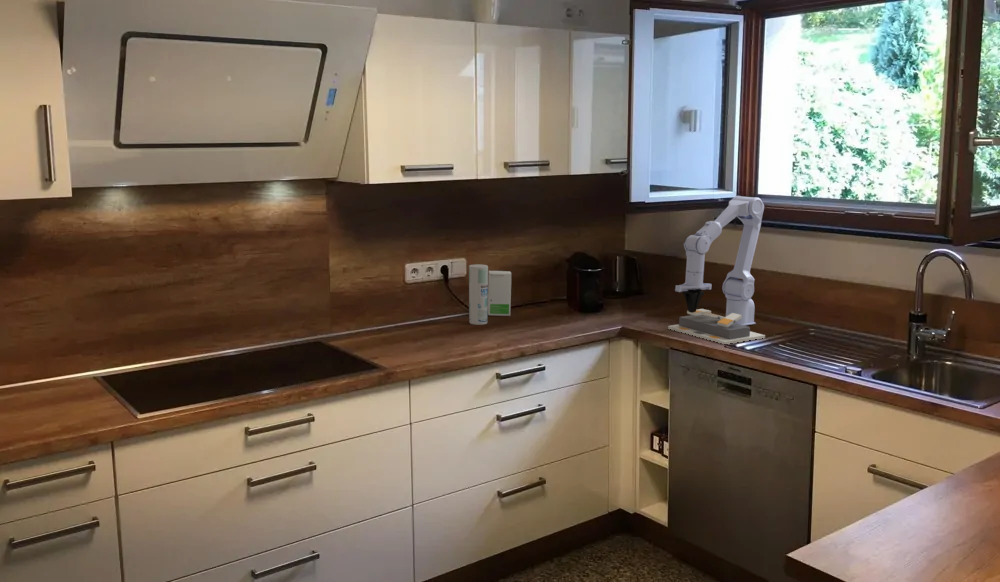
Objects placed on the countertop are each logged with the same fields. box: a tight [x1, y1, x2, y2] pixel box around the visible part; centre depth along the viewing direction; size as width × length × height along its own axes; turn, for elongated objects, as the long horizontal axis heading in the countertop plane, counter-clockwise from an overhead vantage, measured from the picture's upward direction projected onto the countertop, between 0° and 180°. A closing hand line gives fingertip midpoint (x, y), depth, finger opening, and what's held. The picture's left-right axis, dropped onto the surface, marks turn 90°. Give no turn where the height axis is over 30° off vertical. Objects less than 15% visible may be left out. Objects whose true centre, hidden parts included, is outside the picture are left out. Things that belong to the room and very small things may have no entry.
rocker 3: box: [717, 313, 742, 327], centre depth 278 cm, size 7×4×1 cm, turn 120°
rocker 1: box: [686, 308, 712, 316], centre depth 290 cm, size 7×4×1 cm, turn 121°
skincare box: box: [487, 270, 512, 317], centre depth 313 cm, size 8×7×16 cm
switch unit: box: [667, 314, 766, 345], centre depth 286 cm, size 18×26×4 cm
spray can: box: [468, 263, 489, 326], centre depth 298 cm, size 6×6×20 cm
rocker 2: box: [702, 312, 726, 320], centre depth 284 cm, size 7×4×1 cm, turn 122°
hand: (691, 311), depth 288 cm, fingers closed, pressing on rocker 1
